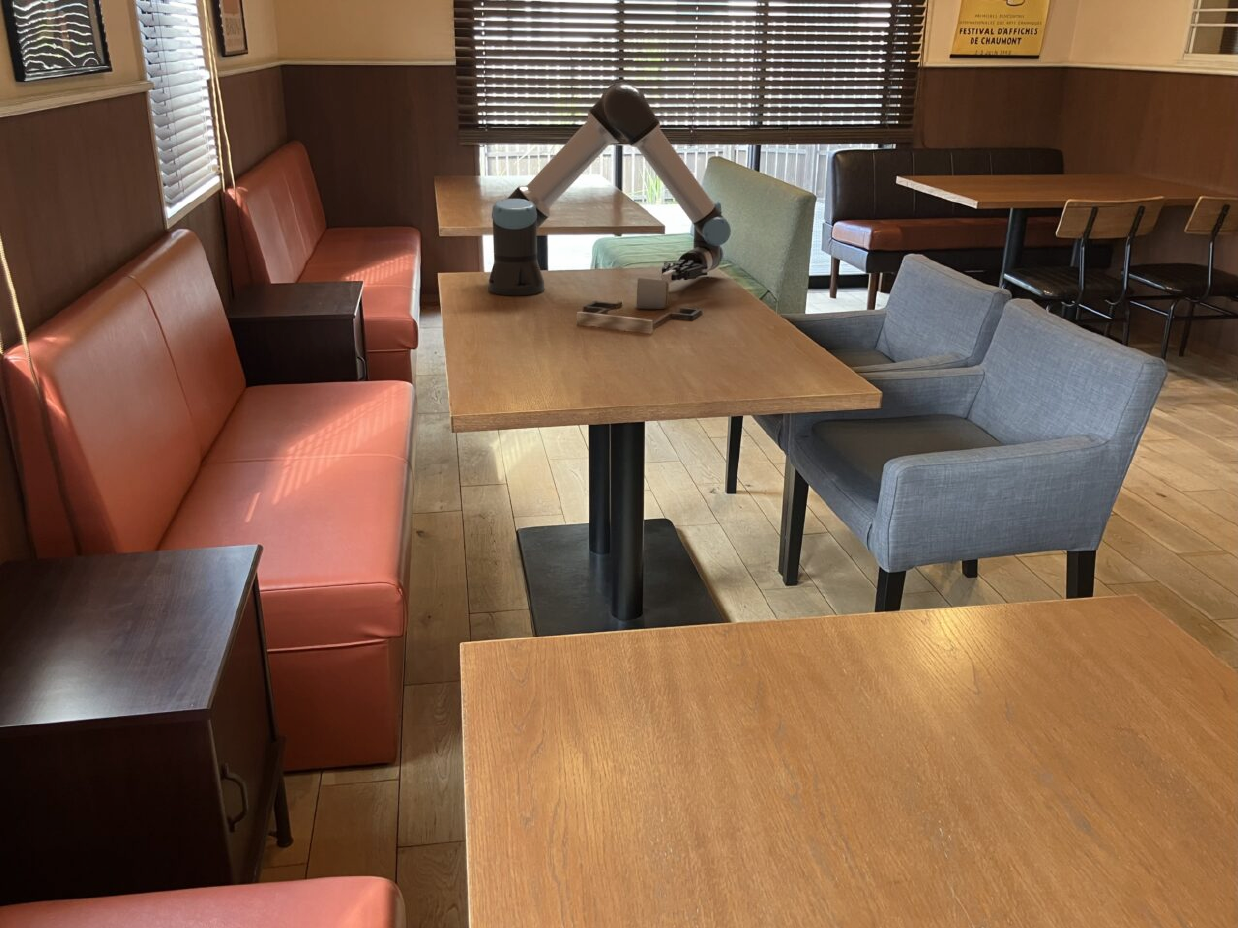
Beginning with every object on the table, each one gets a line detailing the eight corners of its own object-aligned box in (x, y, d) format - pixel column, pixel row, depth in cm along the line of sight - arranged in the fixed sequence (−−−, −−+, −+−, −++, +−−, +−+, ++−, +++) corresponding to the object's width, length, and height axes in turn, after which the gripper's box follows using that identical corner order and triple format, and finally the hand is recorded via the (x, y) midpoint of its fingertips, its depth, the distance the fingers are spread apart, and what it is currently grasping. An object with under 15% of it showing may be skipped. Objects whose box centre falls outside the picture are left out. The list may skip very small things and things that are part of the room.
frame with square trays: (560, 323, 247) (559, 310, 246) (599, 303, 267) (599, 291, 265) (668, 335, 237) (669, 323, 236) (701, 314, 256) (702, 302, 255)
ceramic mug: (668, 312, 258) (669, 281, 256) (636, 311, 258) (636, 281, 256) (666, 303, 268) (667, 273, 266) (635, 302, 268) (636, 273, 265)
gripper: (716, 279, 285) (687, 296, 265) (672, 275, 290) (640, 291, 270) (717, 252, 282) (688, 267, 262) (673, 248, 287) (641, 263, 267)
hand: (664, 279), depth 266 cm, fingers closed
